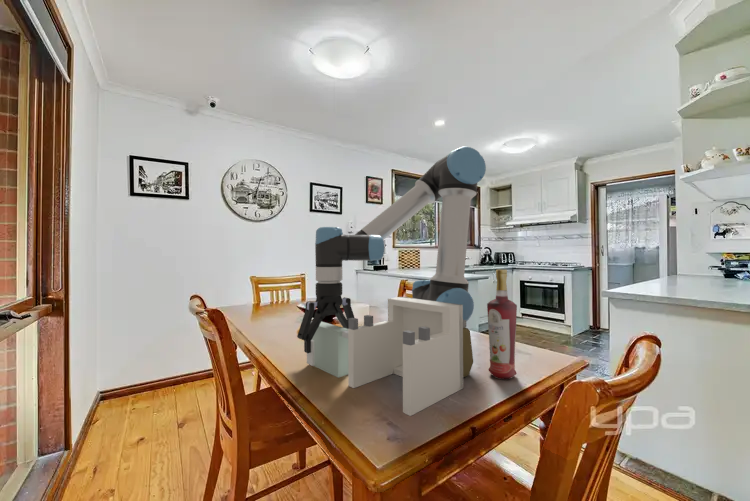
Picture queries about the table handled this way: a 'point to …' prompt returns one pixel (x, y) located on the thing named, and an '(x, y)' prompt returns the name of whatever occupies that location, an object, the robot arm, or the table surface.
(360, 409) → the table surface
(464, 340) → the squeeze bottle
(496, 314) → the liquor
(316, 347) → the door
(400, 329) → the cabinet
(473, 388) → the table surface
